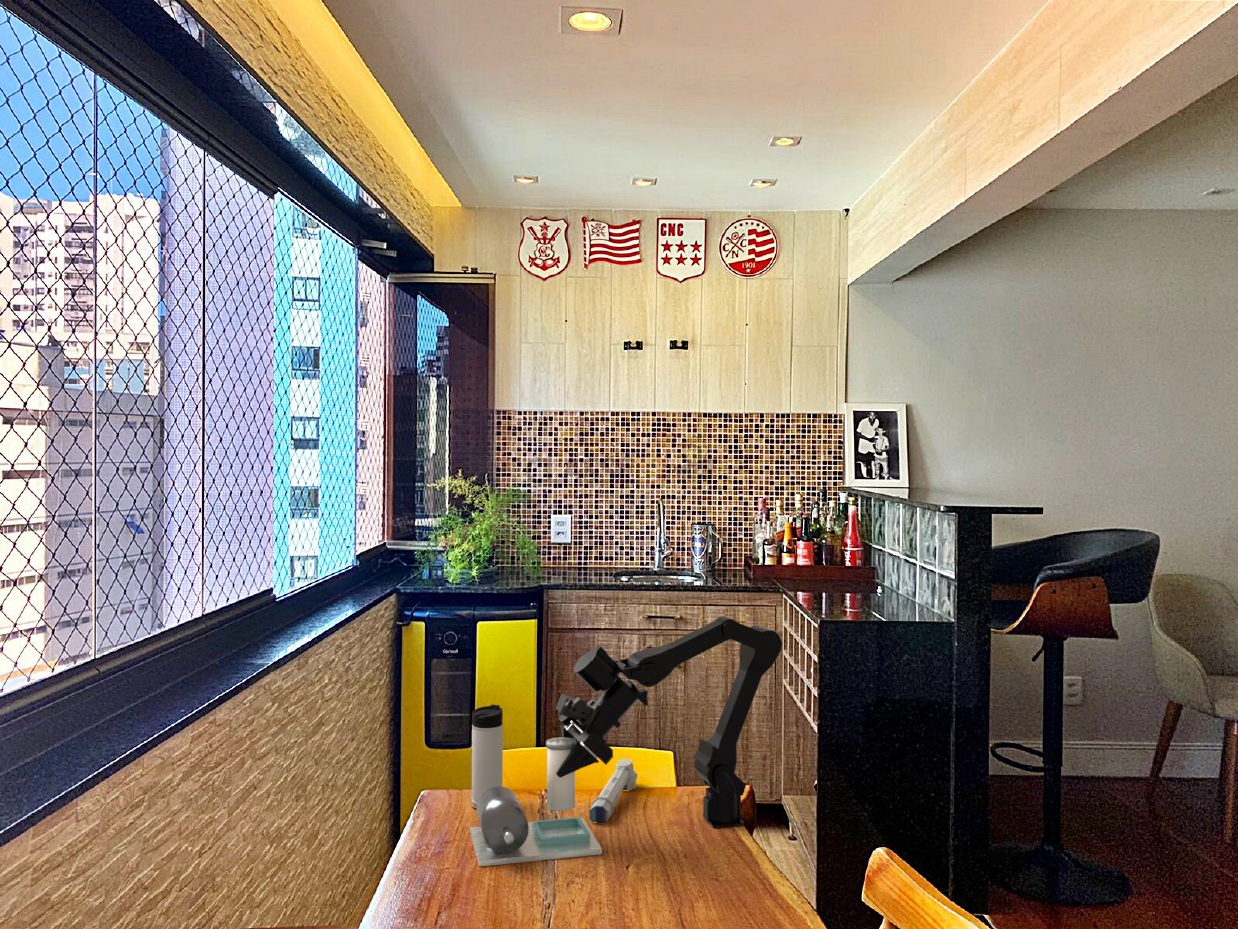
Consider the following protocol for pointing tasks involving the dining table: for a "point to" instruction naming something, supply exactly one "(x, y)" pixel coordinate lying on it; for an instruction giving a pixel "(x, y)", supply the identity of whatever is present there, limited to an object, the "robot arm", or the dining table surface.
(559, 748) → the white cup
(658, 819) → the dining table surface
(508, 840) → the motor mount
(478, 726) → the travel mug
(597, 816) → the light grey long piece
